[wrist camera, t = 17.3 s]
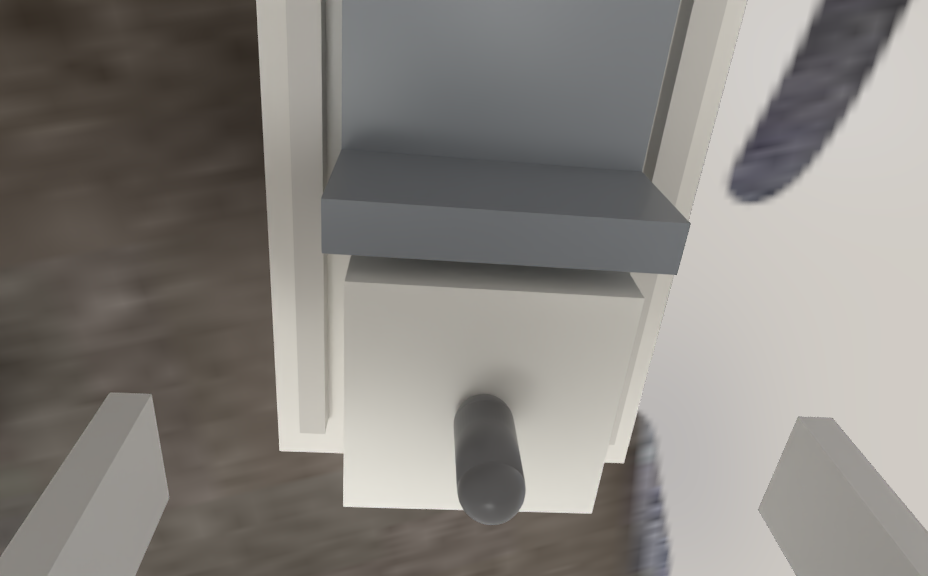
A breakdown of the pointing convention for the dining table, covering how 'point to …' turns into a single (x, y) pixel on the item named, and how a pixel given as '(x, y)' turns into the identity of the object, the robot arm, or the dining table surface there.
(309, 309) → the cream railed base block
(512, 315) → the plug
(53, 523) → the robot arm
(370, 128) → the grey l-shaped bracket
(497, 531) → the dining table surface
